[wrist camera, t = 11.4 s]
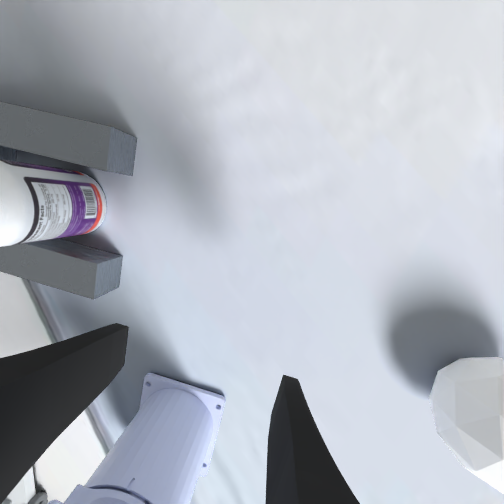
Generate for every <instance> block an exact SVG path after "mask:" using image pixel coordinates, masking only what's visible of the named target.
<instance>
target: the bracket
mask: <svg viewBox="0 0 504 504" xmlns="http://www.w3.org/2000/svg"><path fill="white" fill-rule="evenodd" d="M136 142H137V138H136V137H134V136H131V135H129V134H127V133H125V132H122V131H120V130H118V129H116V128H113V127H111V126H107V125H102V124H98V123H93V122H89V121H84V120H80V119H76V118H71V117H67V116H62V115H58V114H53V113H49V112H44V111H40V110H35V109H31V108H27V107H22V106H18V105H13V104H9V103H4V102H0V159H2V160H8V161H14V162H16V149H17V150H21V151H25V152H30V153H34V154H38V155H42V156H46V157H50V158H54V159H58V160H62V161H66V162H71V163H75V164H79V165H83V166H87V167H91V168H95V169H99V170H103V171H108V172H113V173H119V174H124V175H130V176H132V175H133V167H134V159H135V150H136ZM122 258H123V256H121V255H117V254H113V253H110V252H106V251H103V250H99V249H95V248H92V247H88V246H84V245H81V244H77V243H74V242H70V241H66V240H63V239H59V238H55V239H49V240H42V241H36V242H29V243H24V244H17V245H11V246H2V247H0V272H4V273H7V274H11V275H14V276H17V277H21V278H24V279H27V280H31V281H34V282H37V283H41V284H44V285H47V286H51V287H54V288H57V289H61V290H64V291H68V292H71V293H74V294H78V295H81V296H84V297H88V298H91V299H96V298H98V297H100V296H102V295H104V294H106V293H108V292H110V291H112V290H114V289H116V288H118V287H119V282H120V274H121V266H122Z"/></svg>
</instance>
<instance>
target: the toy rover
mask: <svg viewBox="0 0 504 504" xmlns="http://www.w3.org/2000/svg"><path fill="white" fill-rule="evenodd" d="M47 503H48V500H47V493H46V492H43V491H40V492H38V493H37V494H36V492H35V483H34V475H33V467H31V468H30V469H29V471H28V472H27V473H26V474H25V475H24V477H23V478H22V479H21V480H20V482H19V483H18V484H17V485H16V486H15V488H14V489H13V490H12V491H11V493H10V494H9V495H8V496H7V498H6V499H5V500H4V501H3V502H2V504H47Z"/></svg>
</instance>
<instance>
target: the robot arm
mask: <svg viewBox="0 0 504 504" xmlns="http://www.w3.org/2000/svg"><path fill="white" fill-rule="evenodd" d="M128 328H129V327H127V326H124V325H121V324H118V323H115V324H112V325H108V326H105V327H102V328H99V329H96V330H93V331H90V332H87V333H85V334H82V335H79V336H76V337H73V338H70V339H67V340H64V341H61V342H57V343H54V344H51V345H48V346H44V347H41V348H38V349H34V350H31V351H27V352H24V353H20V354H16V355H12V356H8V357H4V358H0V504H2V502H3V501H4V500H5V499H6V498H7V496H8V495H9V494H10V493H11V491H12V490H13V489H14V488H15V486H16V485H17V484H18V483H19V482H20V480H21V479H22V478H23V477H24V475H25V474H26V473H27V472H28V471H29V469H30V468H31V467H32V466H33V465H34V464H35V462H36V461H37V460H38V459H39V458H40V456H41V455H42V454H43V453H44V452H45V451H46V449H47V448H48V447H49V446H50V445H51V444H52V443H53V441H54V440H55V439H56V438H57V437H58V436H59V435H60V434H61V433H62V432H63V431H64V430H65V429H66V428H67V427H68V426H69V425H70V424H71V423H72V422H73V421H74V420H75V419H76V418H77V417H78V416H79V415H80V414H81V413H82V412H83V411H84V410H85V409H86V408H87V407H88V406H89V405H90V404H91V403H92V402H93V401H94V399H95V398H96V397H97V396H98V395H99V394H100V393H101V392H102V391H103V390H104V389H105V388H106V387H107V386H108V385H109V384H110V382H111V381H112V380H113V379H114V377H115V376H116V375H117V374H118V372H119V371H120V370H121V368H122V367H123V366H124V361H125V353H126V345H127V336H128ZM148 382H150V383H148ZM225 402H226V399H225V398H224V396H222V395H219V394H216V393H213V392H209V391H206V390H203V389H200V388H197V387H194V386H191V385H188V384H185V383H181V382H178V381H175V380H172V379H169V378H166V377H163V376H160V375H157V374H153V373H147V374H146V376H145V377H144V382H143V389H142V395H141V401H140V408H139V411H138V413H137V414H136V415H135V417H134V418H133V420H132V421H131V422H130V424H129V425H128V426H127V428H126V429H125V431H124V432H123V433H122V435H121V436H120V437H119V439H118V440H117V442H116V443H115V444H114V446H113V447H112V448H111V450H110V451H109V453H108V454H107V455H106V457H105V458H104V459H103V461H102V462H101V464H100V465H99V466H98V468H97V469H96V471H95V472H94V473H93V475H92V476H91V477H90V479H89V480H88V482H87V483H86V484H85V486H82V485H80V484H79V485H77V486H76V488H75V489H74V490H73V492H72V493H71V494H70V496H69V497H68V498H67V500H66V501H65V502H64V504H190V501H191V498H192V495H193V492H194V489H195V486H196V483H197V480H198V477H199V476H202V477H205V476H206V475H207V473H208V470H209V466H210V462H211V458H212V454H213V450H214V446H215V442H216V438H217V434H218V430H219V426H220V422H221V418H222V414H223V410H224V406H225ZM218 405H220V406H218ZM47 504H63V503H62V502H60V501H58V500H52V501H50V502H48V503H47ZM266 504H360V503H359V502H358V500H357V499H356V497H355V496H354V494H353V493H352V491H351V489H350V488H349V486H348V484H347V483H346V481H345V479H344V478H343V476H342V474H341V473H340V471H339V469H338V467H337V466H336V464H335V462H334V460H333V458H332V456H331V454H330V453H329V451H328V449H327V447H326V445H325V443H324V441H323V439H322V437H321V434H320V432H319V430H318V428H317V426H316V423H315V421H314V419H313V417H312V414H311V412H310V410H309V407H308V405H307V402H306V400H305V397H304V394H303V392H302V389H301V386H300V383H299V381H298V379H296V378H293V377H289V376H286V375H283V377H282V381H281V384H280V387H279V391H278V394H277V397H276V400H275V404H274V407H273V410H272V414H271V421H270V428H269V436H268V453H267V481H266Z"/></svg>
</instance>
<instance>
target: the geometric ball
mask: <svg viewBox="0 0 504 504" xmlns="http://www.w3.org/2000/svg"><path fill="white" fill-rule="evenodd" d="M429 403H430V407H431V411H432V414H433V418H434V422H435V426H436V430H437V433H438V435H439V436H440V437H441V439H442V440H443V441H444V443H445V444H446V445H447V447H448V448H449V449H450V451H451V452H452V453H453V455H454V456H455V457H456V459H457V460H458V461H459V463H460V464H461V465H462V466H463V467H464V468H466V469H467V470H469V471H470V472H472V473H473V474H475V475H476V476H477V477H479V478H480V479H482V480H483V481H485V482H486V483H488V484H489V485H491V486H492V487H494V488H495V489H497V490H498V491H500V492H501V493H503V494H504V359H502V358H499V357H475V358H462V359H458V360H457V361H455V362H453V363H451V364H449V365H448V366H446V367H444V368H442V369H440V370H439V371H438V372H437V375H436V378H435V381H434V384H433V387H432V390H431V393H430V396H429Z"/></svg>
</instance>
